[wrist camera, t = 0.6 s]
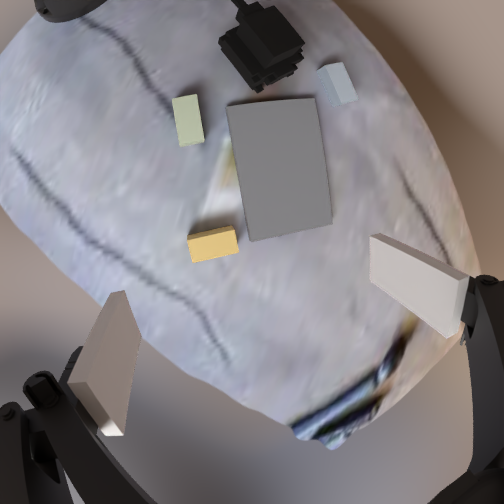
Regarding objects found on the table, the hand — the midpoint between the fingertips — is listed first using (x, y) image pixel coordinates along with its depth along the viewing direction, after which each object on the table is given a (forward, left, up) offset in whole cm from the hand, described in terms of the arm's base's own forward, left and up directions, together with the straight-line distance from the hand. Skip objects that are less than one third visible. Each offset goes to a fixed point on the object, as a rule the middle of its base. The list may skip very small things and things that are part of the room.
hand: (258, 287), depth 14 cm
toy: (-22, +8, -25) cm, 34 cm away
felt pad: (-4, +10, -25) cm, 27 cm away
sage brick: (-12, -1, -25) cm, 28 cm away
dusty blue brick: (-15, +20, -25) cm, 35 cm away
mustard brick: (+4, -1, -25) cm, 25 cm away
